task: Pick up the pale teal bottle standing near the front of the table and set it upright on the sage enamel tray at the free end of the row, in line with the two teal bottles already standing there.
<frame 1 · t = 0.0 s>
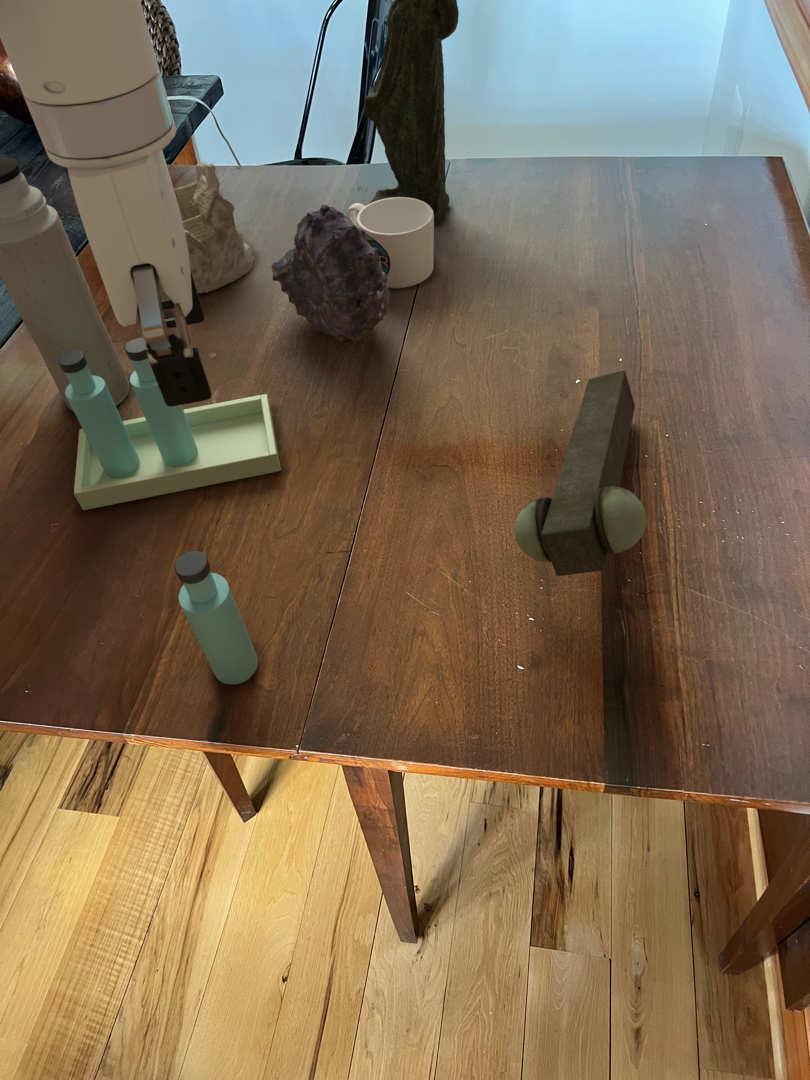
hand: (187, 360, 57), 25 cm above the table, tool pointing down, fingers open, 9 cm apart
tray: (181, 458, 87), on the table
mug: (391, 268, 111), on the table
thermos bottle: (98, 394, 96), on the table
statue: (415, 212, 121), on the table
tray bottle B: (180, 454, 87), point 1 cm above the table, touching tray
ceramic cottage: (200, 265, 115), on the table
tray bottle A: (122, 465, 86), point 1 cm above the table, touching tray
bottle: (236, 665, 69), on the table
seashell: (361, 251, 96), point 9 cm above the table
post: (553, 464, 77), point 4 cm above the table
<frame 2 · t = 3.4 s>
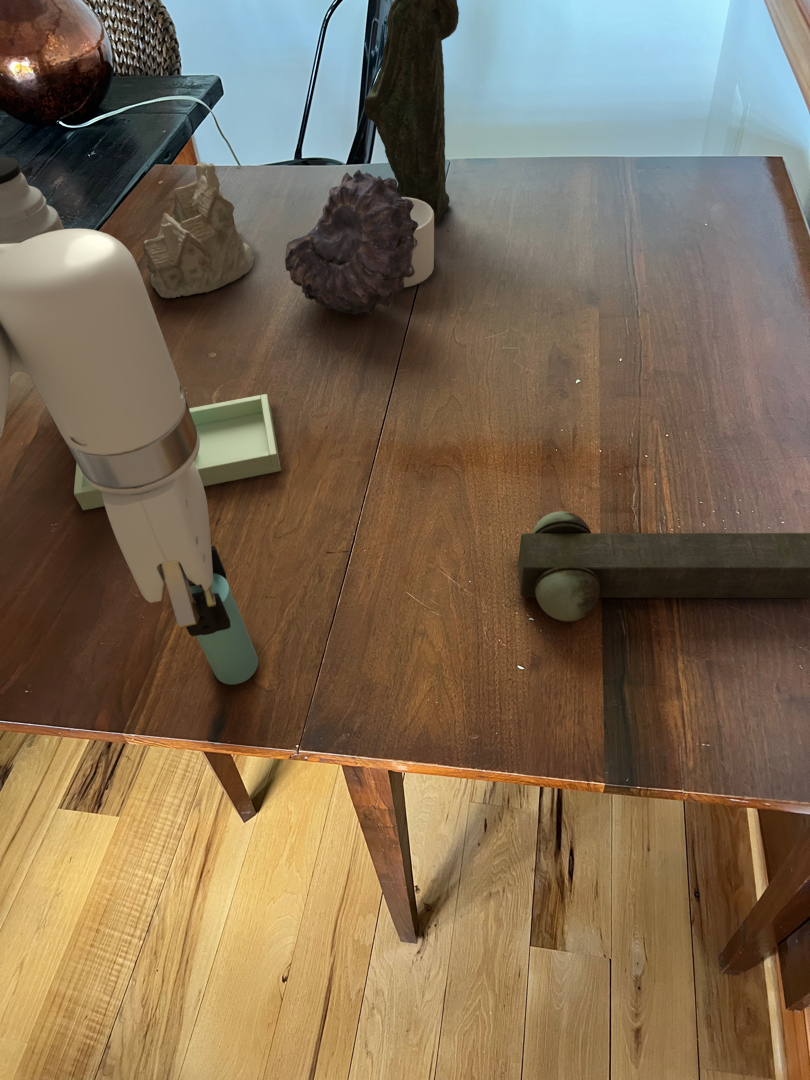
hand: (208, 604, 62), 9 cm above the table, tool pointing down, fingers closed on bottle, 4 cm apart
bottle: (236, 665, 69), on the table, touching gripper
seashell: (375, 242, 102), point 7 cm above the table
post: (684, 529, 72), point 3 cm above the table
everything else where it was.
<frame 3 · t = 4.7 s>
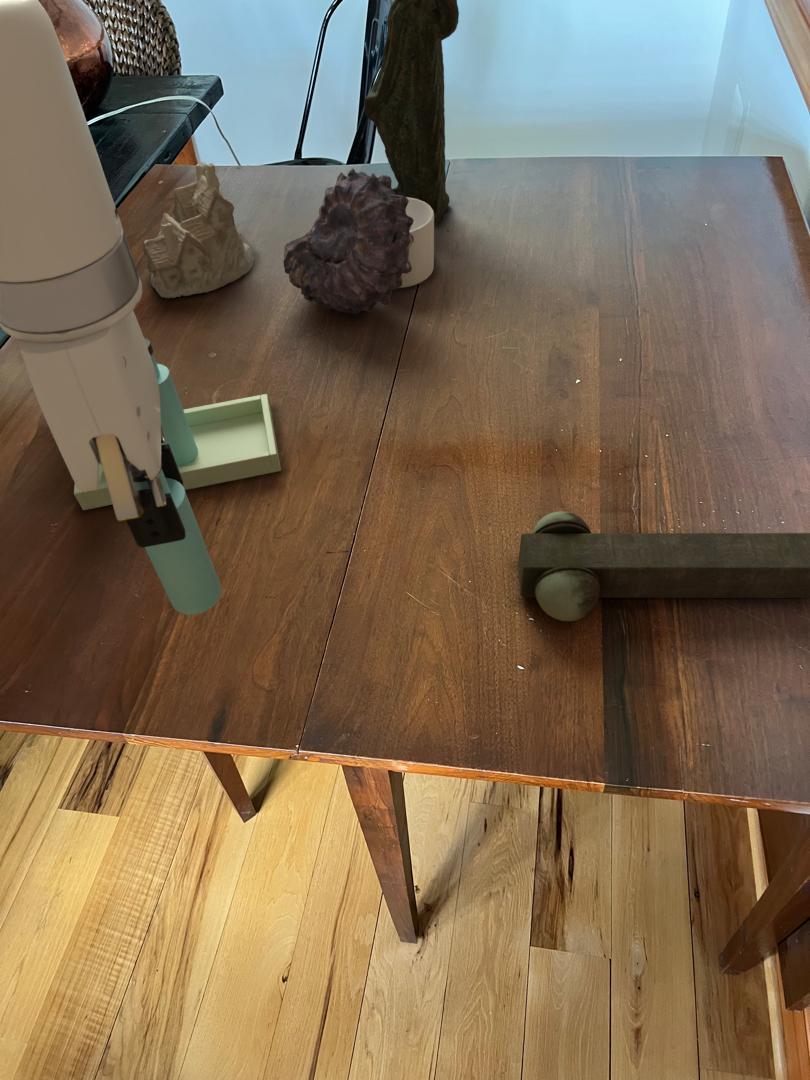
hand: (161, 513, 54), 20 cm above the table, tool pointing down, fingers closed on bottle, 4 cm apart
mug: (391, 268, 111), on the table, touching seashell
bottle: (196, 594, 61), point 11 cm above the table, touching gripper
seashell: (372, 242, 102), point 7 cm above the table, touching mug
everything else where it was.
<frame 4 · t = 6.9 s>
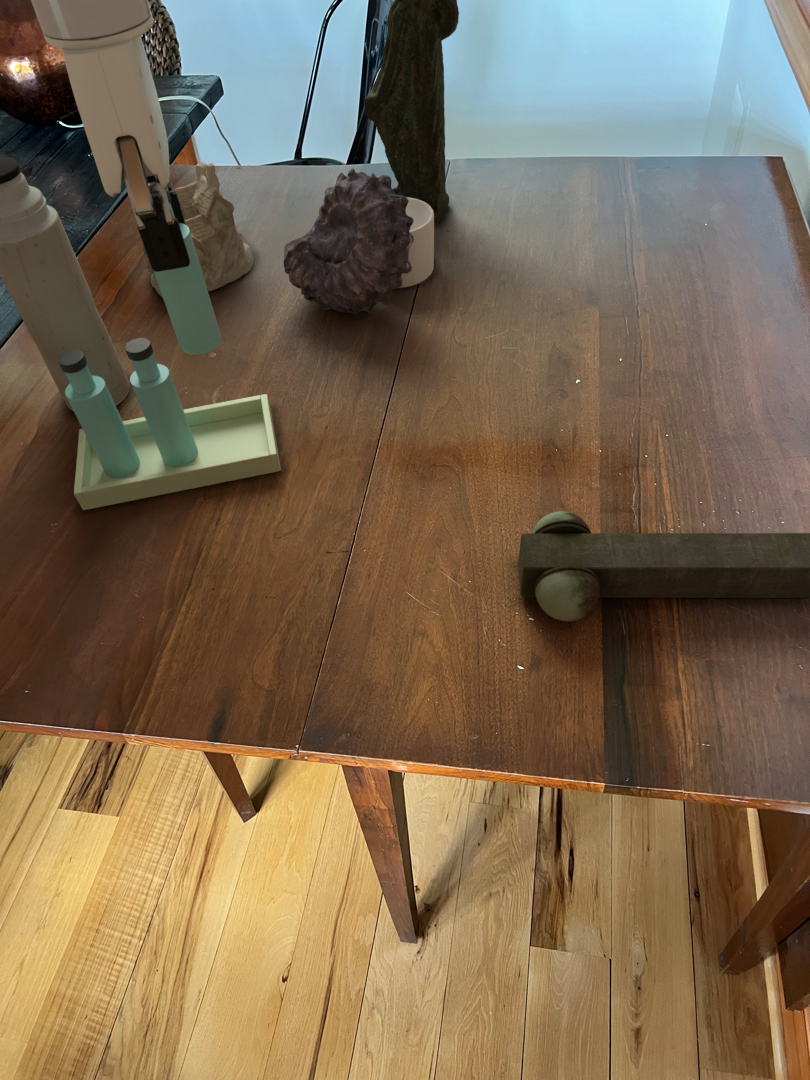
hand: (171, 251, 67), 26 cm above the table, tool pointing down, fingers closed on bottle, 4 cm apart
bottle: (200, 342, 74), point 16 cm above the table, touching gripper
everything else where it was.
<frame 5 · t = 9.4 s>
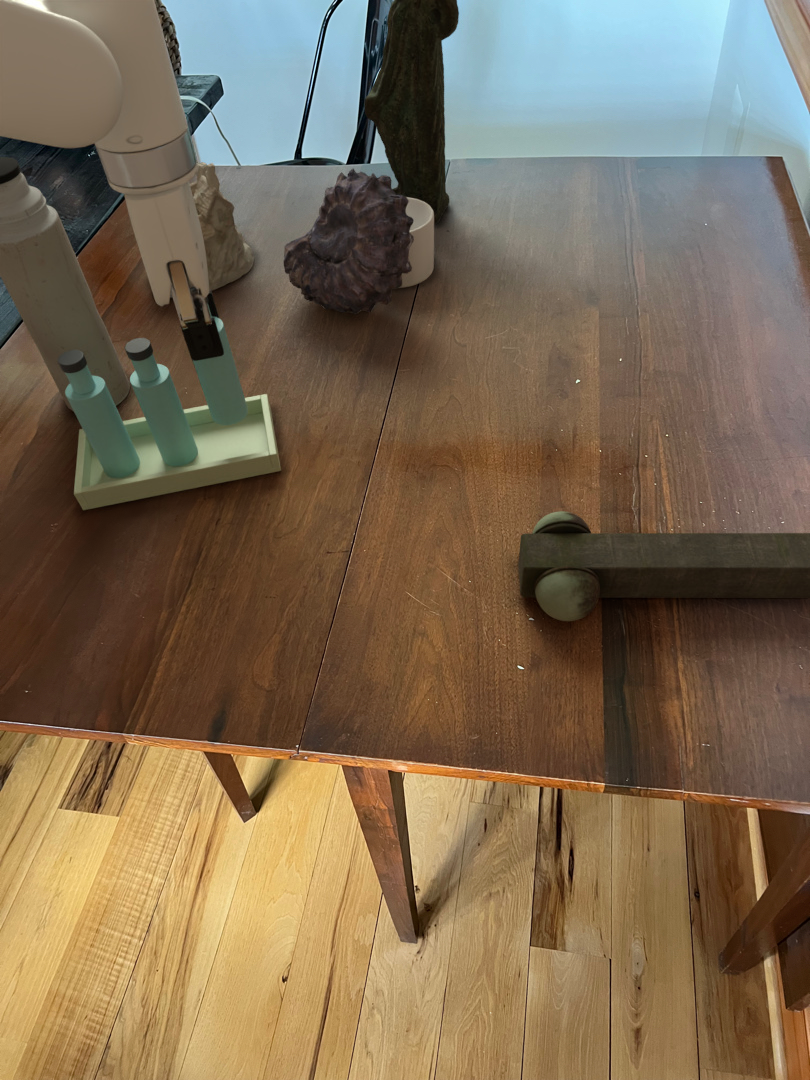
hand: (206, 341, 77), 14 cm above the table, tool pointing down, fingers closed on bottle, 4 cm apart
bottle: (229, 413, 84), point 5 cm above the table, touching gripper
everything else where it was.
when the fingers open (10 cm above the table, at t = 10.9 s): bottle stays where it is, resting on tray.
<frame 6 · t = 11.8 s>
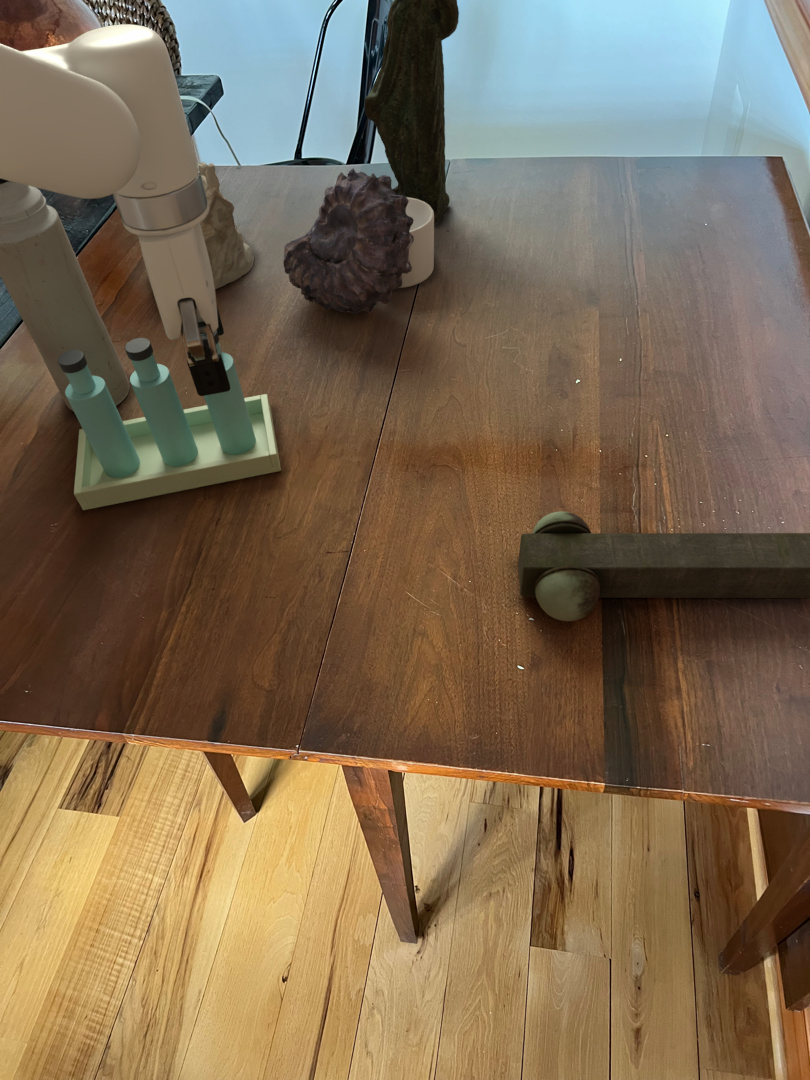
hand: (212, 362, 79), 12 cm above the table, tool pointing down, fingers open, 9 cm apart
bottle: (238, 442, 88), point 1 cm above the table, touching tray
everything else where it was.
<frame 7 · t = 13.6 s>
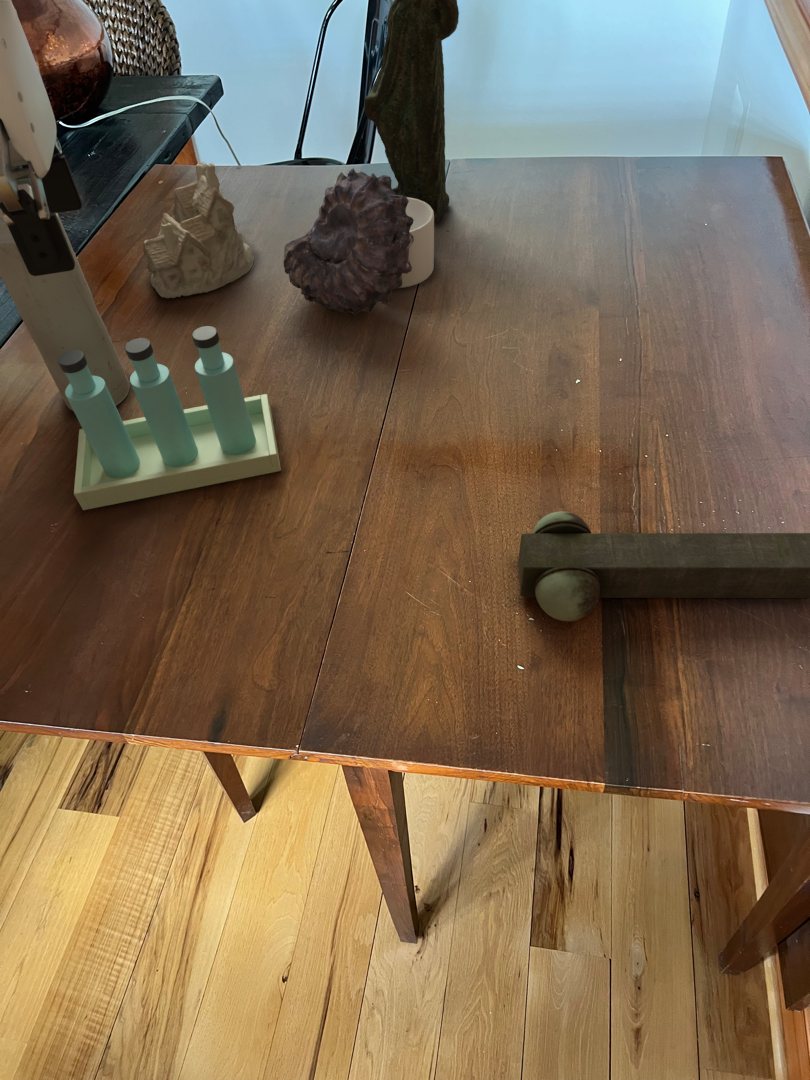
hand: (58, 239, 59), 31 cm above the table, tool pointing down, fingers open, 9 cm apart
nothing on the table moved.
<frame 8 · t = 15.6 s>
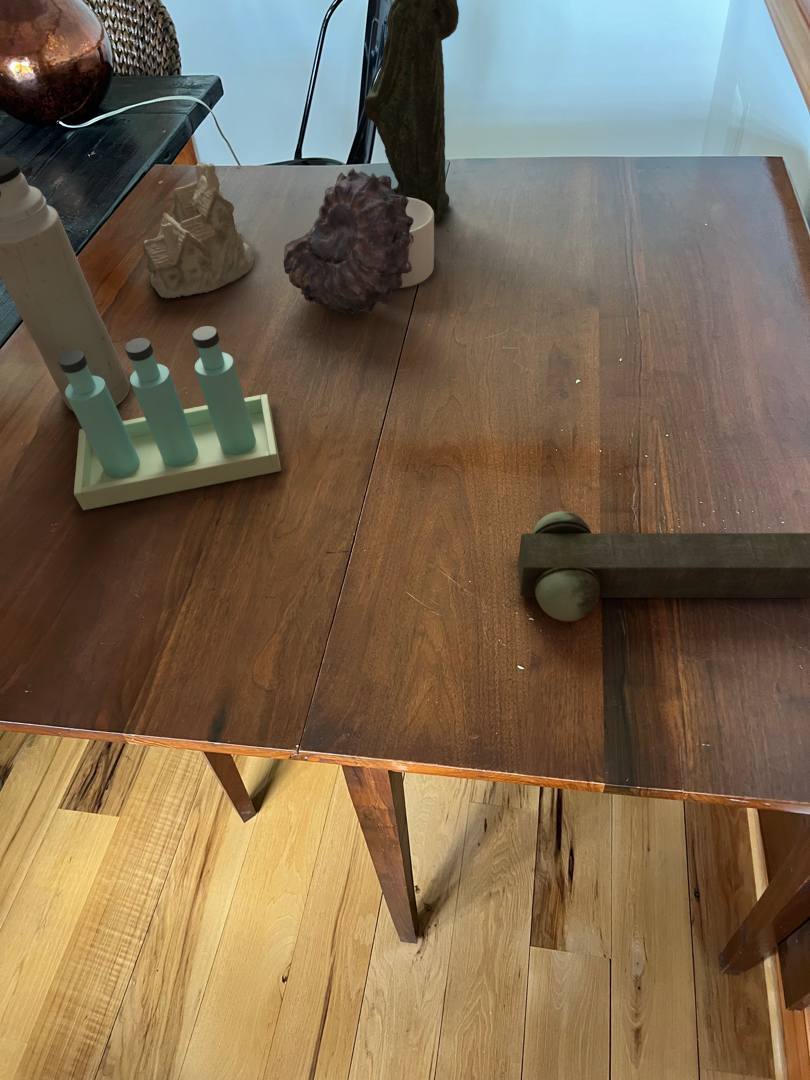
nothing on the table moved.
at the end: bottle 0.1 cm from the target spot in the tray, point 0.6 cm above the tray's base; bottle tilted 0°; bottle 6.6 cm from the tray bottle B (horizontally) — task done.
